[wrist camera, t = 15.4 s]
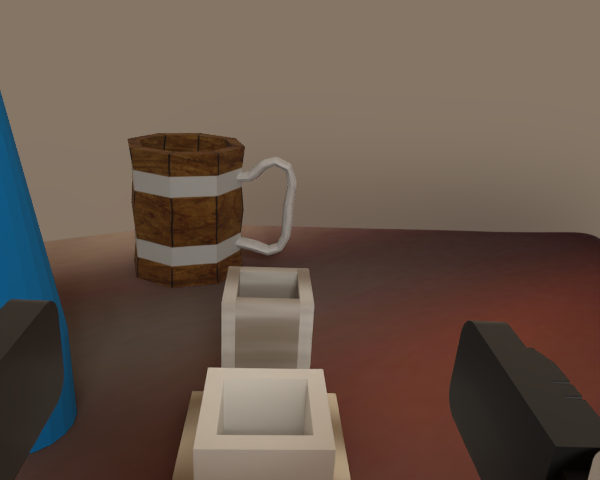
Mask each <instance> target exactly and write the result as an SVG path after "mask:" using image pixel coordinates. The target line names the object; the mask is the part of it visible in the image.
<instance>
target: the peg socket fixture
mask: <svg viewBox="0 0 600 480" xmlns="http://www.w3.org/2000/svg"><path fill="white" fill-rule="evenodd" d="M313 315H314V301H313V294H312V287H311V281H310V274H309V269H307V268H273V267H239V266H229V267H228V273H227V278H226V283H225V288H224V293H223V298H222V348H221V368H271V369H310V360H311V345H312V330H313ZM203 393H204V391H192V395H191V399H190V403H189V408H188V412H187V416H186V421H185V425H184V429H183V434H182V438H181V442H180V447H179V451H178V456H177V460H176V464H175V469H174V473H173V477H172V480H194V468H193V447H194V442H195V436H196V431H197V425H198V420H199V415H200V409H201V404H202V398H203ZM327 398H328V404H329V410H330V416H331V423H332V429H333V435H334V441H335V448H336V454H335V465H334V476H333V480H351V479H350V473H349V467H348V462H347V456H346V450H345V444H344V438H343V433H342V427H341V421H340V415H339V409H338V404H337V398H336V393H327Z"/></svg>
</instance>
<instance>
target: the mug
mask: <svg viewBox="0 0 600 480" xmlns="http://www.w3.org/2000/svg"><path fill="white" fill-rule="evenodd" d="M128 143H129V149H130V155H131V160H132V178H133V180H132V208H133V215H134V223H135V238H136V245H135V259H134V261H135V270H136V277H138V278H141V279H144V280H148V281H151V282H155V283H158V284H161V285H165V286H168V287H171V288H174V287H185V286H197V285H208V284H218V283H220V282H222V281H223V280H225V279H226V278H227V273H228V267H229V266H239V267H242V259H241V251H240V248H243V249H247V250H252V251H255V252H258V253H261V254H264V255H267V256H268V255H271V254H274V253H278V252H281V251H282V250H283V248H284V246H285V245H286V243H287V241H288V240H289V238H290V235H291V227H292V219H293V205H294V198H295V193H296V186H297V182H296V178H295V175H294V172H293V168H292V165H291V164H290V163H288V162H286V161H284V160H282V159H280V158H278V157H273V158H269V159H266V160H262V161H261V162H259V164H257V165H256V166H255V167H254V168H253V169H252V170H250V171H249V172H242V164H243V156H244V149H245V146H244V145H242V144H241V143H240V142H239V141H238V140H237V139H236V138H229V137H222V136H215V135H209V134H202V133H157V134H152V135H146V136H141V137H135V138H130V139H128ZM273 166H277V167H279V168H281V169H283V170H285V171H286V176H287V184H288V187H287V191H286V196H285V200H284V205H283V223H282V234H281V236H280V238H279V241H278V243H275V244H272V245H267V244H264V243H262V242H259V241H257V240H253V239H248V238H244V237H241V226H242V217H243V198H242V182H244V181H252V180H254V179H256V178H257V177H259V176H260V175H261V174H262V172H264V171H265V170H266V169H268V168H270V167H273Z"/></svg>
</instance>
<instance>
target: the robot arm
mask: <svg viewBox="0 0 600 480" xmlns="http://www.w3.org/2000/svg"><path fill="white" fill-rule="evenodd" d="M63 381H64V365H63V355H62V344H61V334H60V323H59V314H58V308H57V305H56V304H55V302H54V301H47V300H25V299H11V300H9V301H8V302H7V303H6V304H5V305H4V306H3V307H2V308H1V309H0V480H14V479H15V477H16V476H17V474H18V472H19V470H20V469H21V467H22V465H23V463H24V461H25V460H26V458H27V456H28V454H29V453H30V451H31V449H32V447H33V446H34V444H35V442H36V440H37V439H38V437H39V435H40V433H41V431H42V430H43V428H44V426H45V424H46V423H47V421H48V419H49V417H50V416H51V414H52V412H53V410H54V409H55V407H56V405H57V403H58V401H59V398H60V395H61V392H62V387H63ZM569 382H570V381H569V380H568V379H567V377H566V376H565V375H564V374H563V373H562V371H561V370H560V369H559V368H558V366H557V365H556V364H555V363H554V362H552V361H551V360H549V359H548V358H546V357H545V356H543V355H542V354H541V353H539V352H538V351H536V350H535V349H533V348H526V347H525V345H524V344H523V343H522V341H521V340H520V339H519V338H518V336H517V335H516V334H515V332H514V331H513V330H512V329H511V327H510V326H509V325H508V324H507V323H505V322H489V321H467V322H466V323H465V324H464V326H463V328H462V331H461V336H460V340H459V345H458V350H457V355H456V359H455V364H454V369H453V373H452V378H451V383H450V390H449V401H450V409H451V413H452V416H453V419H454V421H455V423H456V425H457V428H458V430H459V432H460V434H461V436H462V439H463V441H464V443H465V445H466V447H467V450H468V452H469V454H470V456H471V458H472V461H473V463H474V465H475V467H476V469H477V472H478V474H479V476H480V478H481V480H600V417H599V416H598V415H597V414H596V412H595V411H594V410H593V409H592V408H591V406H590V405H589V404H588V403H587V402H586V400H582V396H581V394H580V393H579V392H578V391H577V389H576V388H575V387H574V386H573V385H570V383H569Z"/></svg>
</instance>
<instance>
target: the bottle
mask: <svg viewBox="0 0 600 480" xmlns="http://www.w3.org/2000/svg"><path fill="white" fill-rule="evenodd" d="M11 299H25V300H47V301H54V302H55V304H56V305H57V308H58V314H59V323H60V334H61V344H62V355H63V365H64V381H63V387H62V392H61V395H60V398H59V401H58V403H57V405H56V407H55V409H54V410H53V412H52V414H51V416H50V417H49V419H48V421H47V423H46V424H45V426H44V428H43V430H42V431H41V433H40V435H39V437H38V439H37V440H36V442H35V444H34V446H33V447H32V449H31V451H30V453H33V452H36V451H38V450H40V449H42V448H44V447H46V446H49V445H51V444H52V443H54V442H55V441H56V440H58V439H59V438H60V437H62V436H63V435H64V434H66V432H67V431H68V430H69V429H70V427H71V426H72V425H73V424H74V421H75V418H76V414H77V409H76V400H75V391H74V382H73V373H72V364H71V355H70V346H69V337H68V328H67V324H66V320H65V317H64V313H63V310H62V306H61V303H60V299H59V296H58V292H57V288H56V285H55V281H54V278H53V274H52V271H51V267H50V264H49V260H48V257H47V253H46V250H45V246H44V243H43V239H42V236H41V232H40V229H39V225H38V222H37V218H36V215H35V211H34V208H33V204H32V201H31V197H30V194H29V190H28V187H27V183H26V180H25V176H24V172H23V169H22V166H21V162H20V159H19V155H18V151H17V148H16V144H15V141H14V137H13V134H12V130H11V127H10V123H9V120H8V116H7V113H6V109H5V106H4V102H3V99H2V95H1V92H0V309H1V308H2V307H3V306H4V305H5V304H6V303H7V302H8V301H9V300H11ZM30 453H29V454H30Z"/></svg>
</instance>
